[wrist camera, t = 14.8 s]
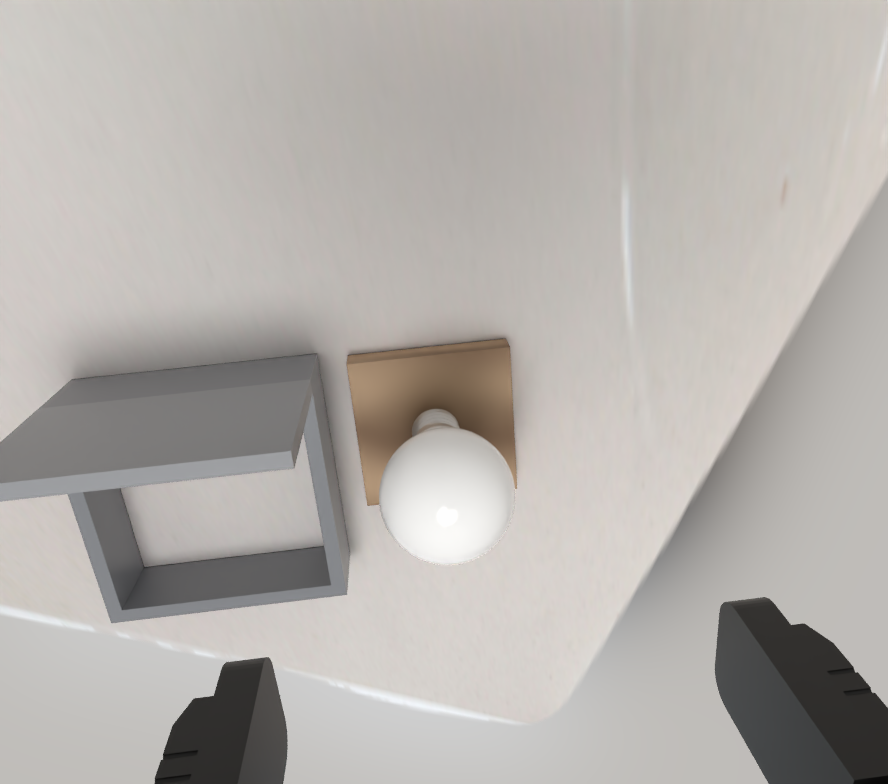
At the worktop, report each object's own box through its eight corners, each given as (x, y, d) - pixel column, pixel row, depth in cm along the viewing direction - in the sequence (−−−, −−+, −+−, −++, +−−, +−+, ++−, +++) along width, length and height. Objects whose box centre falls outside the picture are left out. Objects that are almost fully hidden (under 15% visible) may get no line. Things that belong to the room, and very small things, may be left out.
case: (71, 379, 39) (-54, 489, 28) (317, 353, 39) (290, 451, 28) (134, 579, 44) (50, 739, 33) (350, 554, 44) (338, 702, 33)
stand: (347, 355, 39) (346, 364, 38) (505, 338, 40) (509, 346, 38) (368, 492, 43) (367, 505, 42) (512, 476, 43) (517, 488, 42)
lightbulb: (397, 360, 38) (404, 450, 28) (505, 390, 39) (549, 487, 29) (365, 460, 40) (361, 577, 30) (469, 485, 42) (498, 606, 31)
